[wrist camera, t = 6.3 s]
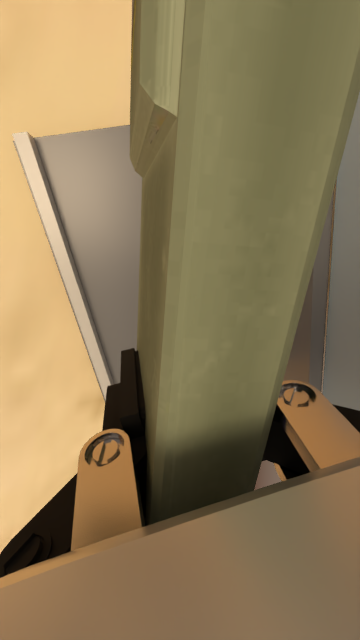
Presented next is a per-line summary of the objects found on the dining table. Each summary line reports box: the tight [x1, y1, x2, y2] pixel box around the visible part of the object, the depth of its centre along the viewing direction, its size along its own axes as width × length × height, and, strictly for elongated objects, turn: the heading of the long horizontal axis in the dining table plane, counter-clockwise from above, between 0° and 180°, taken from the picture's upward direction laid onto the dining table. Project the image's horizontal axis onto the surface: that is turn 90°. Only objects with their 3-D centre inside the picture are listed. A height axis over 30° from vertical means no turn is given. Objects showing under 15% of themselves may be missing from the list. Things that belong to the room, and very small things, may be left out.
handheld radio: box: [130, 0, 360, 526], centre depth 9 cm, size 7×3×25 cm
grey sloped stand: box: [12, 125, 334, 402], centre depth 22 cm, size 20×26×10 cm
